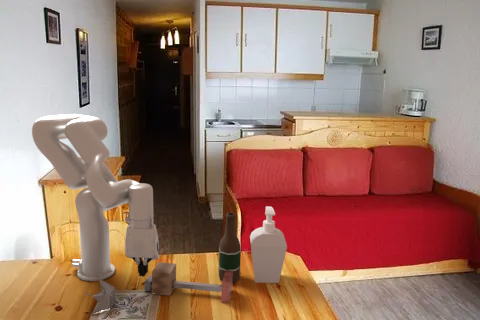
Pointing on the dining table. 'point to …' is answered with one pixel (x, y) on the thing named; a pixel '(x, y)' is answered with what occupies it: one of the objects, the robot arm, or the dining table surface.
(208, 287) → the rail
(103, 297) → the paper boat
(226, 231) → the beer bottle
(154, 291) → the block
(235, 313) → the dining table surface
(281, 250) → the soap bottle
